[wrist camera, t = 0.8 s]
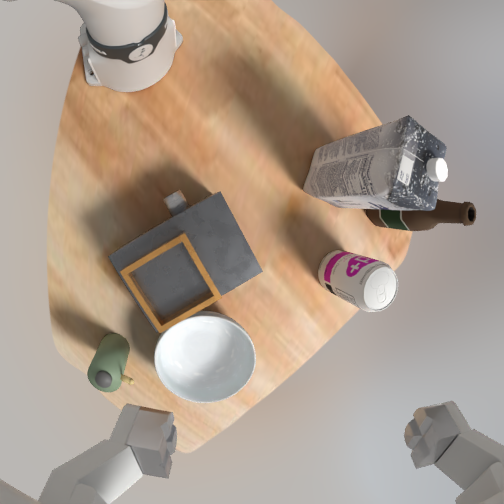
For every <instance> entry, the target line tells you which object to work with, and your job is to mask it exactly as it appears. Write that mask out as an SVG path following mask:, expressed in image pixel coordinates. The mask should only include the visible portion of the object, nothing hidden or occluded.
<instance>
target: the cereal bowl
mask: <svg viewBox="0 0 504 504" xmlns="http://www.w3.org/2000/svg"><path fill="white" fill-rule="evenodd" d="M154 364H155V369H156V372H157V374H158V377H159V378H160V380H161V382H162V383H163V384H164V385H165V386H166V388H167V389H169V390H170V391H171V392H172V393H174V394H175V395H177V396H179V397H181V398H183V399H185V400H188V401H192V402H198V403H211V402H217V401H221V400H224V399H227V398H229V397H231V396H233V395H235V394H236V393H237V392H239V391H240V390H241V389H242V388H243V387H244V386H245V385H246V384H247V383H248V381H249V380H250V378H251V376H252V374H253V372H254V368H255V364H256V353H255V348H254V344H253V342H252V340H251V338H250V336H249V335H248V333H247V332H246V331H245V330H244V328H243V327H242V326H241V325H240V324H238V323H237V322H236V321H235V320H233V319H232V318H230V317H228V316H226V315H223V314H221V313H217V312H212V311H198V312H197V313H195V314H193V315H191V316H190V317H188V318H186V319H184V320H183V321H181V322H179V323H177V324H176V325H174V326H172V327H170V328H169V329H167V330H165V331H163V332H162V333H161V335H160V337H159V339H158V341H157V344H156V347H155V352H154Z"/></svg>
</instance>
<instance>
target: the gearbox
mask: <svg viewBox="0 0 504 504" xmlns="http://www.w3.org/2000/svg"><path fill="white" fill-rule="evenodd" d="M163 201H164V202H165V204H166V206H167V208H168V210H169V212H170V214H171V215H172V217H171V218H169V219H167V220H165V221H164V222H162V223H160V224H159V225H157V226H155V227H153V228H152V229H150V230H148V231H147V232H145V233H143V234H142V235H140V236H138V237H137V238H135V239H133V240H132V241H130V242H129V243H127V244H125V245H124V246H122V247H120V248H119V249H118V250H116V251H115V252H114V253H112V254H111V255H110V256H108V257H109V259H110V261H111V262H112V264H113V266H114V267H115V269H116V271H117V272H118V274H119V276H120V277H121V279H122V281H123V282H124V284H125V286H126V287H127V289H128V290H129V292H130V293H131V295H132V297H133V298H134V300H135V301H136V303H137V304H138V306H139V307H140V309H141V310H142V312H143V313H144V315H145V316H146V318H147V319H148V321H149V322H150V324H151V325H152V327H153V328H154V330H155V331H156V332H159V333H162V332H163V331H165V330H167V329H169V328H170V327H172V326H174V325H176V324H177V323H179V322H181V321H183V320H184V319H186V318H188V317H190V316H191V315H193V314H195V313H197V312H198V311H200V310H202V309H204V308H205V307H207V306H209V305H211V304H212V303H214V302H216V301H217V300H219V299H221V298H222V297H221V296H222V295H224V294H225V293H227V292H229V291H231V290H232V289H234V288H236V287H237V286H239V285H241V284H243V283H244V282H246V281H248V280H249V279H251V278H253V277H254V276H256V275H258V274H259V273H261V272H263V271H262V269H261V267H260V265H259V263H258V262H257V260H256V258H255V256H254V254H253V252H252V250H251V248H250V246H249V245H248V243H247V241H246V239H245V237H244V235H243V233H242V231H241V230H240V228H239V226H238V224H237V222H236V220H235V218H234V216H233V214H232V213H231V211H230V209H229V207H228V205H227V203H226V201H225V199H224V197H223V196H222V194H221V192H217V193H214V194H212V195H210V196H208V197H206V198H205V199H203V200H201V201H199V202H197V203H195V204H194V205H192V206H189V204H188V203H187V201H186V199H185V197H184V195H183V193H182V191H181V190H178V191H176V192H175V193H173V194H171V195H169V196H167V197H166V198H164V199H163Z"/></svg>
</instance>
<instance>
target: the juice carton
mask: <svg viewBox="0 0 504 504" xmlns="http://www.w3.org/2000/svg"><path fill="white" fill-rule="evenodd" d="M445 153H446V146H445V144H444V143H443V142H441V141H440V140H438V139H437V138H436V137H435V136H433V135H432V134H431V133H429V132H428V131H427V130H426V129H424V128H423V127H422V126H421V125H419V124H418V123H417V122H416V121H415V120H414V119H413V118H412V117H410V116H409V115H408V116H406V117H403V118H401V119H399V120H397V121H393V122H390V123H387V124H384V125H381V126H378V127H375V128H372V129H369V130H366V131H363V132H360V133H357V134H354V135H351V136H348V137H345V138H342V139H340V140H337V141H334V142H331V143H329V144H326V145H324V146H322V147H319V148H317V149H316V150H315V152H314V156H313V159H312V163H311V167H310V170H309V173H308V175H307V178H306V181H305V184H304V187H303V191H304V192H306V193H307V194H309V195H311V196H313V197H315V198H318V199H320V200H323V201H326V202H328V203H330V204H331V205H333V206H336V207H339V208H361V209H384V210H424V211H430V210H434V209H435V207H436V202H437V193H438V182H439V181H445V179H446V178H447V172H448V168H447V165H446V162H445V161H444V157H445Z"/></svg>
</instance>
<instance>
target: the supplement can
mask: <svg viewBox="0 0 504 504" xmlns="http://www.w3.org/2000/svg"><path fill="white" fill-rule="evenodd" d="M318 278H319V281H320V283H321V285H322V286H323V287H324V288H325V289H326V290H327V291H329V292H331V293H333V294H335V295H337V296H338V297H340V298H342V299H344V300H346V301H347V302H349V303H351V304H353V305H355V306H357V307H358V308H360V309H362V310H364V311H367V312H376V311H382V310H384V309H386V308H387V307H388V306H389V305H390V304H391V303H392V301H393V300H394V298H395V297H396V294H397V290H398V279H397V275H396V274H395V272H394V271H393V270H392V269H391V267H390V266H389V265H388V264H386V263H384V262H382V261H378V260H375V259H371V258H368V257H364V256H361V255H357V254H353V253H350V252H346V251H343V250H335V251H332V252H330V253H328V254H327V255H326V256H325V257H324V258H323V260H322V261H321V263H320V266H319V270H318Z"/></svg>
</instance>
